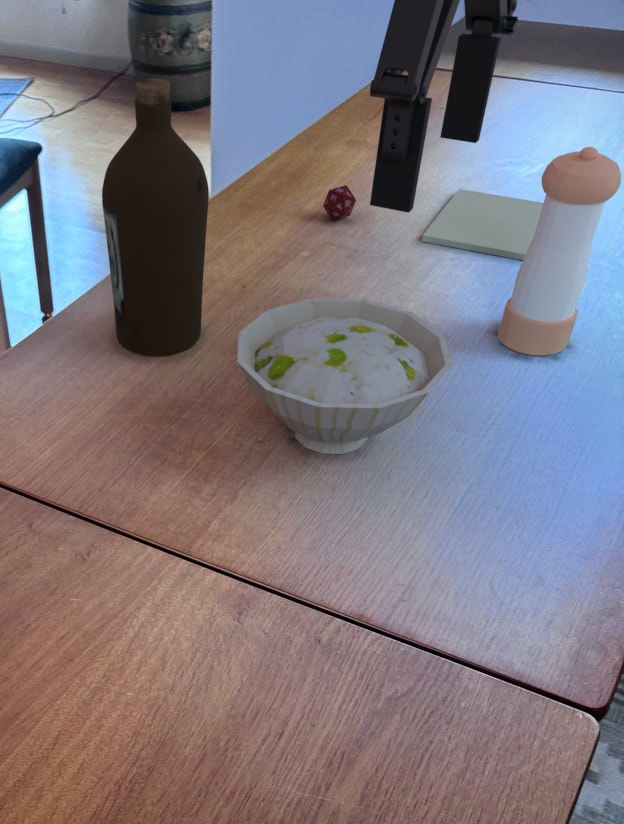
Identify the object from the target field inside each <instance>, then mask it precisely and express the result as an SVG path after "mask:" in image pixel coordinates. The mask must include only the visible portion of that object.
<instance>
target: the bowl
mask: <svg viewBox="0 0 624 824" xmlns="http://www.w3.org/2000/svg"><path fill="white" fill-rule="evenodd" d="M237 334H238V335H237V364H238V366H239V368H240V370H241V372H242V374H243V376H244V378H245V380H246V382H247V384H248V386H249V388H250V390H251V391H252V392H253V393H254V394H255V395H256V396H257V397H258V398H259V399H260V401H262V402H263V404H265V406H267V407H268V408H269V410H271V412H272V413H273V414H274V415H275V416H276V417H278V418H279V420H280V421H281V422H283V423H284V424H285V425H286V426H287V428H288V429H290V430H291V431H292V432H294V438H295V439H296V440H297V441H298V442H299V443H300V444H301V445H302V446H303V447H304V448H305V449H308V450H312V451H314V452H317V453H320V454H325V455H328V454H329V455H344V454H347V453H350V452H353V451H356V450H359V449H360V448H361V447H362V446H363V445H364V444H365V443H366V442H367V441H368V439H369V438H370V437H373V436H376V435H379V434H382V433H383V432H385V431H387V430H388V429H390V428H391V427H394V426H395V425H397V424H398V423H400V422H402V421H403V420H405V419H406V418H409V417H410V416H411V415H412V414H413V412H414V411H415V410H416V409H417V408H418V407H419V406H420V404H421V403H422V402H423V401H424V400H425V399H426V398H427V396H428V395H429V394H430V393H431V392H432V390H433V389H434V388H435V387H436V386H437V385H438V384H439V382H440V381H441V380H442V379H443V378H444V376H445V375H446V374H447V373H448V372H449V371H450V369H451V368H452V367H453V366H454V364H453V361H452V357H451V353H450V349H449V345H448V342H447V338H446V335H444V334H443V333H442V332H440V331H439V330H437V329H436V328H435V327H433V326H432V325H430V324H429V323H428V322H426V321H425V320H424V319H422V318H420V317H419V316H418V315H416V314H415V313H414V312H412V311H409V310H406V309H401V308H397V307H395V306H390V305H387V304H384V303H379V302H375V301H371V300H368V299H365V298H313V297H312V298H307V299H303V300H300V301H299V300H298V301H296V302H292V303H289V304H285V305H282V306H278V307H274V308H270V309H268V310H264V311H263V312H262V313H261V314H260V315H259V316H257V317H256V318H255V319H254V320H252V322H249V324H247V326H245V327H244V328H243V329H242V330H241V331H239V333H237Z"/></svg>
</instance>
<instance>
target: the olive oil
mask: <svg viewBox="0 0 624 824" xmlns="http://www.w3.org/2000/svg"><path fill="white" fill-rule="evenodd" d="M170 92H171V83H170V81H169V80H167V79H164V78H159V77H149V78H143V79H141V80H139V81H137V82H136V83H135V94H136V98H135V99H134V110H135V111H134V113H135V128H134V130H133V132H132V133H131V134H130V136H129V137H128V139H126V141H125V142H124V143H123V144H122V145H121V147H120V148H119V149H118V150H117V152H116V153H115V154H114V156H113V157H112V159H111V160H110V162H109V163H108V165H107V167H106V170H105V174H104V177H103V182H102V190H101V199H102V200H101V203H102V204H101V205H102V211H103V220H104V221H103V222H104V229H105V237H106V245H107V246H106V247H107V255H108V262H109V264H108V265H109V272H110V273H109V274H110V281H111V290H112V301H113V309H114V311H113V312H114V320H115V321H114V322H115V332H116V338H117V341H118V343H119V344H120V345H121V346H122V347H124V348H125V349H126V350H128V351H130V352H133V353H135V354H138V355H143V356H151V357H164V356H172V355H176V354H179V353H182V352H185V351H187V350H188V349H190V348H192V347H193V346H194V345H195V344H196V343H197V342H198V341H199V339H200V336H201V331H202V312H203V311H202V308H203V290H204V289H203V285H204V272H205V270H204V269H205V258H206V257H205V256H206V240H207V225H208V213H209V198H210V197H209V196H210V195H209V194H210V192H209V183H208V179H207V174H206V172H205V168H204V166H203V163H202V161H201V160H200V158H199V156H197V154H196V153H195V152H194V151H193V149H192V148H191V147H190V146H189V145H188V144H187V143H186V142H185V140H183V138H182V137H181V136H180V135H179V134H178V133H177V132H176V130H175V129H174V127H173V126H172V98H171V96H170Z"/></svg>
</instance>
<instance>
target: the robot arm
mask: <svg viewBox="0 0 624 824" xmlns="http://www.w3.org/2000/svg"><path fill="white" fill-rule="evenodd" d="M460 2H461V0H394V2H393V4H392V8H391V12H390V17H389V20H388V25H387V28H386V32H385V35H384V39H383V42H382V47H381V50H380V54H379V58H378V62H377V65H376V69H375V73H374V76H373V79H372V80H371V82H370V87H369V96H370V97H372V98H379V99H384V100H383V101H384V102H383V108H382V115H381V122H380V129H379V136H378V143H377V150H376V157H375V166H374V173H373V180H372V187H371V195H370V201H369V206H371V207H378V208H383V209H387V210H393V211H398V212H402V213H410V212H411V211H412V210H413V209H414V204H415V199H416V193H417V187H418V181H419V176H420V170H421V164H422V160H423V153H424V146H425V141H426V136H427V131H428V130H427V129H428V125H429V119H430V114H431V113H430V112H431V106H432V102H433V98H432V97H427V96H428V93H429V89H430V86H431V84H432V81H433V78H434V75H435V72H436V69H437V66H438V64H439V61H440V58H441V55H442V53H443V50H444V47H445V44H446V41H447V38H448V36H449V32H450V30H451V28H452V24H453V21H454V18H455V16H456V13H457V10H458V8H459V5H460ZM463 3H464V19H465V31H467V32H471V33H461V34H460V35H459V36H458V39H457V45H456V51H455V56H454V59H453V60H454V61H453V66H452V72H451V77H450V82H449V88H448V92H447V98H446V104H445V109H444V114H443V120H442V125H441V131H440V136H439V138H441V139H446V140H454V141H460V142H467V143H471V144H477V143H478V141H480V138H481V132H482V128H483V123H484V119H485V118H484V117H485V115H486V109H487V104H488V100H489V95H490V91H491V86H492V82H493V77H494V73H495V69H496V68H495V67H496V63H497V58H498V54H499V49H500V44H501V40H502V37H497V35H505V36H513V35H514V33H515V31H516V29H517V26H518V22H519V21H518V20H519V16H515V15H514V12H515V11H516V10H517V6H518V0H463ZM404 72H406V73H407V74H403V73H404Z"/></svg>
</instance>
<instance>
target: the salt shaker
mask: <svg viewBox="0 0 624 824" xmlns="http://www.w3.org/2000/svg"><path fill="white" fill-rule="evenodd" d="M621 183H622V172H621V169H620V166H619V165H618V162H616V161H615V160H613V159H611V158H610V157H608V156H606V155H605V154H602V153H599V152H598V149H597V148H595V147H593V146H586V147H583V148H582V149H581V150H579V151H578V150H577V151H572V152H567V153H564V154H561V155H558V156H556V157H555V158H553V159H552V160H551V162H549V163H548V164H547V165H546V167H545V169H544V171H543V173H542V175H541V187H542V191H543V192H544V194H545V197H544V201H543V202H542V203H543V207H542V210H541V214H540V217H539V221H538V224H537V228H536V231H535V234H534V237H533V239H532V241H531V244H530V246H529V248H528V250H527V253H526V255H525V257H524V259H523V260H521V261H522V262H521V264H520V266H519V268H518V271H517V274H516V278H515V283H514V287H513V290H512V294H511V297H509V298H508V299H507V301H506V304H505V306H504V310H503V313H502V317H501V320H500V324H499V328H498V331H497V336H498V340H499V341H500V343H501V344H503V345H504V346H505V347H506V348H508V349H510V350H512V351H515V352H517V353H520V354H525V355H530V356H550V355H555V354H559V353H561V352H563V351H564V350H565V349H566V348H567V347H568V345H569V342H570V339H571V336H572V333H573V330H574V327H575V324H576V321H577V318H578V314H579V312H578V308H577V306H578V303H579V300H580V297H581V295H582V292H583V290H584V287H585V284H586V281H587V276H588V269H589V264H590V257H591V253H592V252H591V251H592V244H593V240H594V238H595V235H596V232H597V228H598V225H599V222H600V219H601V215H602V212H603V209H604V207H605V203H606V202H608V201H609V200H610V199H611V198H613V197H614V195H616V193H617V192H618V191H619V189H620V187H621Z"/></svg>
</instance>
